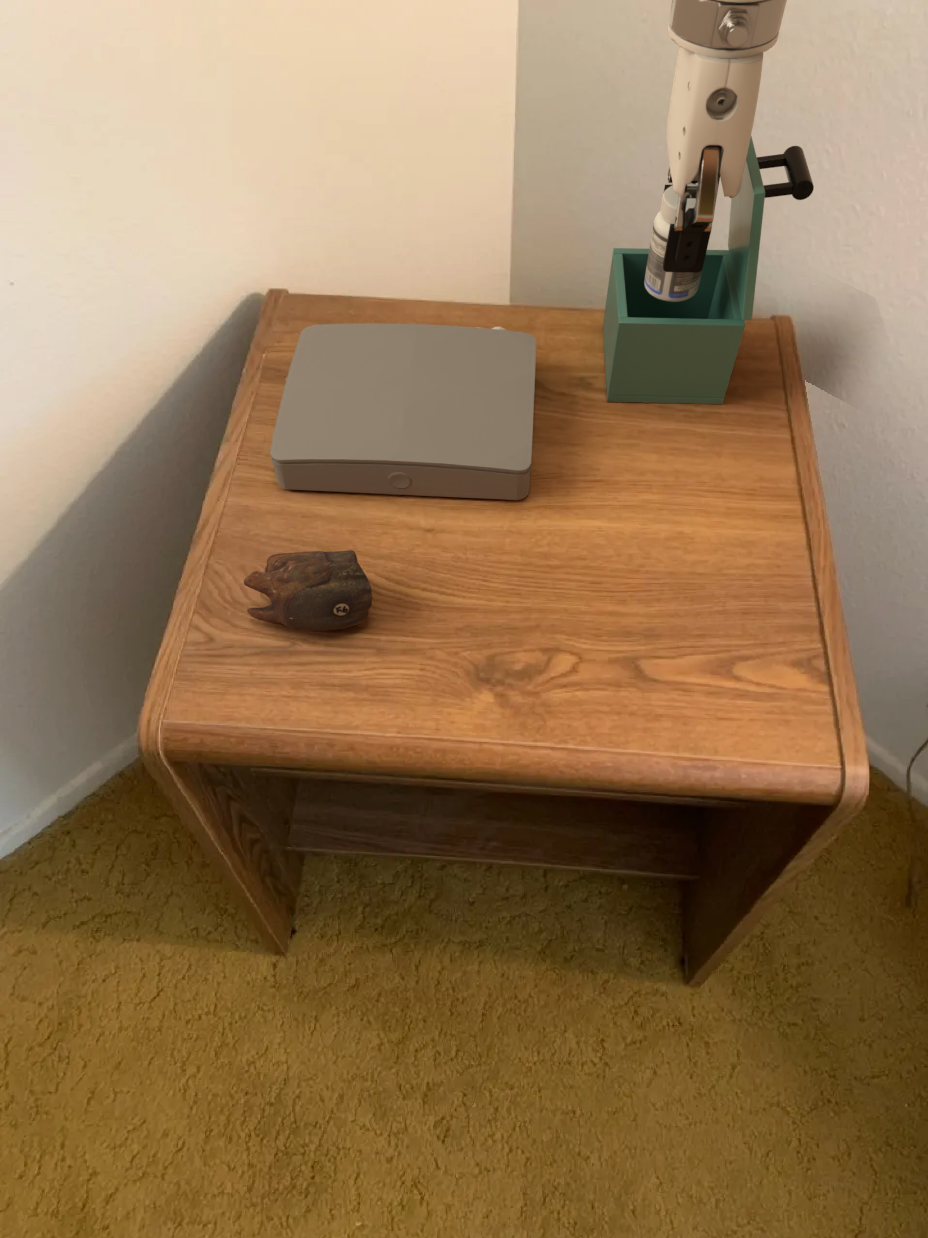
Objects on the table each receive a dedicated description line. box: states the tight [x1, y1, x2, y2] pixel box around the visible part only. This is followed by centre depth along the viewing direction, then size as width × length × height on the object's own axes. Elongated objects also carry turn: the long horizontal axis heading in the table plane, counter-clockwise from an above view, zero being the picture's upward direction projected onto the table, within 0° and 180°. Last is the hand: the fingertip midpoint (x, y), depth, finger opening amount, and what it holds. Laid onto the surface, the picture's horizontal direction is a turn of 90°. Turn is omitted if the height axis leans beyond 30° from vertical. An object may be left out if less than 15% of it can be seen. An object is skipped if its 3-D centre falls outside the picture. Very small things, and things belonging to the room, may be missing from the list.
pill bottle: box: [644, 183, 705, 302], centre depth 77 cm, size 5×5×8 cm
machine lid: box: [727, 135, 815, 322], centre depth 75 cm, size 11×11×5 cm
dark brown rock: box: [243, 549, 373, 632], centre depth 71 cm, size 6×7×10 cm
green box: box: [602, 247, 746, 405], centre depth 84 cm, size 11×11×9 cm
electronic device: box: [269, 322, 537, 501], centre depth 82 cm, size 19×22×5 cm
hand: (679, 247), depth 78 cm, fingers closed on pill bottle, 4 cm apart
